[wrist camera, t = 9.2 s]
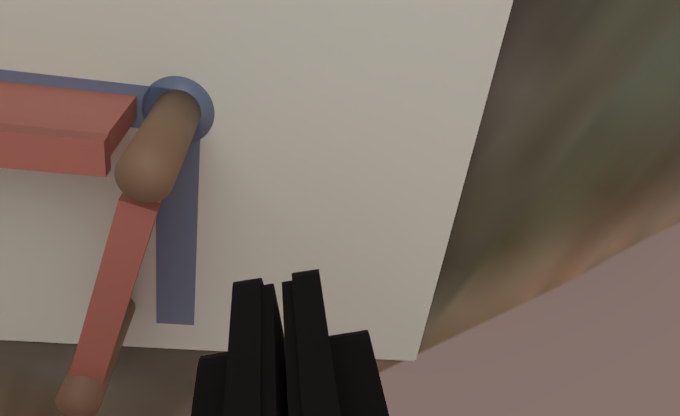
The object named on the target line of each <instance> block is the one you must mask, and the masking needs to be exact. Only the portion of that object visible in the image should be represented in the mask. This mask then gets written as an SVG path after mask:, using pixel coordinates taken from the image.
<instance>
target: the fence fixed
mask: <svg viewBox="0 0 680 416" xmlns="http://www.w3.org/2000/svg"><path fill="white" fill-rule="evenodd" d="M200 117H201V109H200V106H199V103H198V102H197V100H196V99H195V98H194V97H193V96H192V95H191V94H189V93H188V92H185V91H182V90H169V91H167V92H165V93H163V94H162V95H161V96H160V97H159V98H158V100H157V101H156V103H155V104H154V106H153V107H152V109H151V111H150V112H149V114H148V115H147V117H146V118H145V120H144V121H143V123H142V125H141V126H140V128H139V129H138V131H137V132H136V134H135V135H134V137H133V138H132V140H131V142H130V143H129V145H128V146H127V148H126V149H125V151H124V152H123V154H122V156H121V157H120V159H119V160H118V162H117V164H116V166H115V170H114V176H115V181H116V183H117V185H118V187H119V188H120V190H121V191H122V192H123V193H124V194H125V195H126V196H128V197H129V198H131V199H133V200H135V201H139V202H143V203H153V202H157V201H160V200H162V199H164V198H165V197H167V196H168V195H169V194H170V192H171V191H172V189H173V187H174V184H175V182H176V179H177V177H178V174H179V171H180V169H181V166H182V164H183V161H184V159H185V156H186V154H187V151H188V149H189V146H190V143H191V141H192V138H193V136H194V133H195V131H196V128H197V126H198V123H199V120H200ZM136 118H137V96H132V95H123V94H114V93H105V92H96V91H87V90H78V89H69V88H60V87H51V86H42V85H33V84H24V83H15V82H6V81H0V168H8V169H19V170H30V171H41V172H52V173H63V174H74V175H85V176H96V177H106V176H107V175H108V173H109V172H110V170H111V160H110V156H111V155H112V153H113V152H114V150H115V149H116V147H117V146H118V144H119V143H120V142H121V140H122V139H123V137H124V136H125V134H126V133H127V131H128V130H129V128H130V127H131V126H132V124H133V123H134V121H135V120H136Z"/></svg>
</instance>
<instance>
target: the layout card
mask: <svg viewBox="0 0 680 416" xmlns="http://www.w3.org/2000/svg"><path fill="white" fill-rule="evenodd" d="M512 3H513V0H0V81H6V82H15V83H24V84H33V85H42V86H51V87H60V88H69V89H78V90H87V91H96V92H105V93H114V94H123V95H132V96H137V118H136V120H135V121H134V123H133V124H132V126H131V127H130V128H129V130H128V131H127V133H126V134H125V136H124V137H123V139H122V140H121V142H120V143H119V144H118V146H117V147H116V149H115V150H114V152H113V153H112V155H111V156H110V160H111V170H110V172H109V173H108V175H107V176H106V177H96V176H85V175H74V174H63V173H52V172H41V171H30V170H19V169H8V168H0V340H11V341H31V342H50V343H70V344H78V342H79V339H80V335H81V331H82V328H83V324H84V321H85V317H86V314H87V310H88V306H89V303H90V299H91V296H92V292H93V289H94V285H95V281H96V278H97V274H98V271H99V267H100V264H101V260H102V257H103V253H104V249H105V246H106V242H107V239H108V235H109V232H110V228H111V224H112V221H113V217H114V214H115V210H116V207H117V203H118V200H119V198H120V196H121V194H122V193H123V192H122V191H121V190H120V188H119V187H118V185H117V183H116V181H115V176H114V170H115V166H116V164H117V162H118V160H119V159H120V157H121V156H122V154H123V152H124V151H125V149H126V148H127V146H128V145H129V143H130V142H131V140H132V138H133V137H134V135H135V134H136V132H137V131H138V129H139V128H140V126H141V125H142V123H143V121H144V120H145V118H146V117H147V115H148V114H149V112H150V111H151V109H152V107H153V106H154V104H155V103H156V101H157V100H158V98H159V97H160V96H161V95H162V94H163V93H165V92H167V91H169V90H182V91H185V92H188V93H189V94H191V95H192V96H193V97H194V98H195V99H196V100H197V102H198V103H199V106H200V109H201V117H200V120H199V123H198V126H197V128H196V131H195V133H194V136H193V138H192V141H191V143H190V146H189V149H188V151H187V154H186V156H185V159H184V161H183V164H182V166H181V169H180V171H179V174H178V177H177V179H176V182H175V184H174V187H173V189H172V191H171V192H170V194H169V195H168V196H167V197H165V198H164V199H162V201H161V204H160V208H159V211H158V214H157V217H156V220H155V223H154V226H153V230H152V233H151V236H150V239H149V242H148V245H147V249H146V252H145V255H144V258H143V261H142V264H141V267H140V271H139V274H138V277H137V280H136V283H135V286H134V289H133V293H132V296H131V299H132V300H133V301H134V303H135V312H134V315H133V318H132V320H131V323H130V326H129V328H128V331H127V334H126V337H125V339H124V342H123V345H122V346H130V347H149V348H169V349H189V350H209V351H228V340H229V327H230V313H231V300H232V286H233V282H236V281H243V280H249V279H256V278H262V280H263V284H264V285H266V284H272V283H273V284H274V287H275V292H276V297H277V302H278V307H279V312H280V317H281V322H282V327H283V332H284V319H283V299H282V282H285V281H292V273H295V272H302V271H308V270H315V269H319V273H320V280H321V287H322V293H323V300H324V307H325V313H326V320H327V327H328V334H329V336H331V335H337V334H343V333H350V332H356V331H362V330H368V332H369V335H370V339H371V343H372V347H373V351H374V356H375V359H386V360H406V361H416V358H417V355H418V351H419V347H420V344H421V340H422V336H423V332H424V329H425V325H426V321H427V318H428V314H429V310H430V307H431V303H432V299H433V295H434V292H435V288H436V284H437V281H438V277H439V273H440V270H441V266H442V262H443V258H444V255H445V251H446V247H447V244H448V240H449V236H450V233H451V229H452V225H453V221H454V218H455V214H456V210H457V207H458V203H459V199H460V196H461V192H462V188H463V185H464V181H465V177H466V173H467V170H468V166H469V162H470V159H471V155H472V151H473V148H474V144H475V140H476V136H477V133H478V129H479V125H480V122H481V118H482V114H483V111H484V107H485V103H486V99H487V96H488V92H489V88H490V85H491V81H492V77H493V74H494V70H495V66H496V62H497V59H498V55H499V51H500V48H501V44H502V40H503V37H504V33H505V29H506V25H507V22H508V18H509V14H510V11H511V7H512Z"/></svg>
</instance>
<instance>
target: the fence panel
mask: <svg viewBox="0 0 680 416" xmlns="http://www.w3.org/2000/svg"><path fill="white" fill-rule="evenodd" d="M161 201H162V200H160V201H157V202H153V203H143V202H139V201H135V200H133V199H131V198H129V197H128V196H126V195H125V194H124V193H122V194H121V196H120V198H119V200H118V203H117V207H116V210H115V214H114V217H113V221H112V224H111V228H110V232H109V235H108V239H107V242H106V246H105V249H104V253H103V257H102V260H101V264H100V267H99V271H98V274H97V278H96V281H95V285H94V289H93V292H92V296H91V299H90V303H89V306H88V310H87V314H86V317H85V321H84V324H83V328H82V331H81V335H80V339H79V342H78V346H77V349H76V353H75V356H74V359H73V361H72V363H71V365H70V368H69V370H68V372H67V374H66V376H65V378H64V381H63V383H62V385H61V387H60V389H59V391H58V393H57V396H56V398H55V405H56V407H57V409H58V410H59V411H60V412H61V413H62V414H64V415H66V416H93V415H94V414H96V413H97V411H98V410H99V407H100V405H101V402H102V399H103V397H104V394H105V391H106V388H107V386H108V383H109V380H110V377H111V375H112V372H113V369H114V367H115V364H116V361H117V358H118V356H119V353H120V350H121V348H122V345H123V342H124V339H125V337H126V334H127V331H128V328H129V326H130V323H131V320H132V318H133V315H134V312H135V303H134V301H133V300H132V299H131V296H132V293H133V289H134V286H135V283H136V280H137V277H138V274H139V271H140V267H141V264H142V261H143V258H144V255H145V252H146V249H147V245H148V242H149V239H150V236H151V233H152V230H153V226H154V223H155V220H156V217H157V214H158V211H159V208H160V204H161Z"/></svg>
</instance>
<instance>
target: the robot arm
mask: <svg viewBox="0 0 680 416" xmlns="http://www.w3.org/2000/svg"><path fill="white" fill-rule="evenodd" d="M282 299H283V319H284V332H283V327H282V322H281V317H280V312H279V307H278V302H277V297H276V292H275V287H274V284H273V283H272V284H266V285H264V284H263V280H262V278H256V279H249V280H243V281H236V282H233V286H232V300H231V313H230V327H229V340H228V352H224V353H218V354H212V355H205V356H201V357H200V359H199V362H198V368H197V375H196V383H195V390H194V398H193V405H192V413H191V416H389V414H388V410H387V406H386V401H385V397H384V393H383V389H382V385H381V381H380V377H379V372H378V368H377V364H376V360H375V356H374V351H373V347H372V343H371V339H370V335H369V332H368V330H362V331H356V332H350V333H343V334H337V335H331V336H329V334H328V327H327V320H326V313H325V307H324V300H323V293H322V287H321V280H320V273H319V269H315V270H308V271H302V272H295V273H292V281H285V282H282Z"/></svg>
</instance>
